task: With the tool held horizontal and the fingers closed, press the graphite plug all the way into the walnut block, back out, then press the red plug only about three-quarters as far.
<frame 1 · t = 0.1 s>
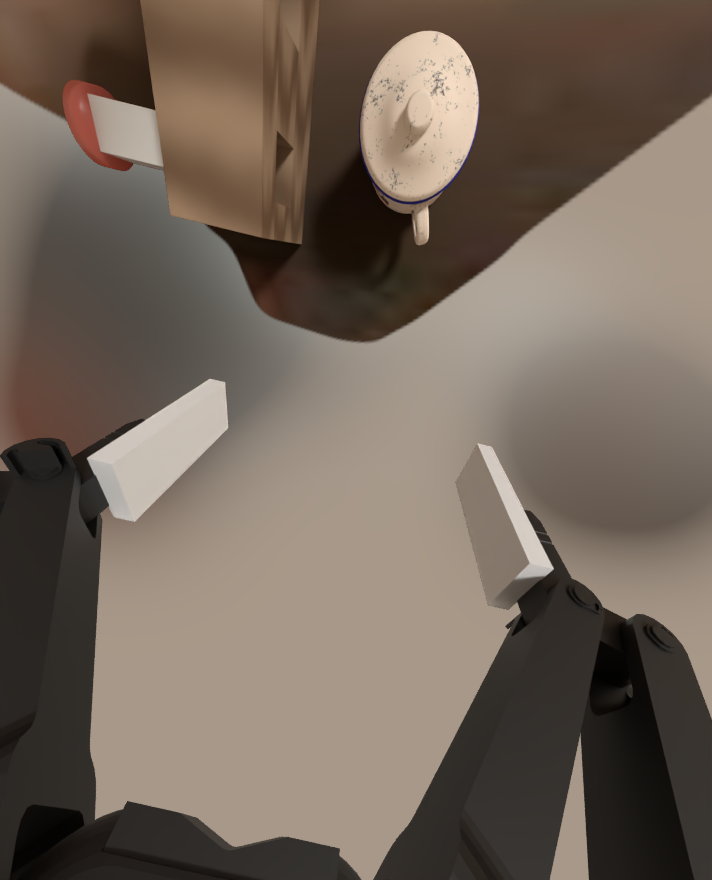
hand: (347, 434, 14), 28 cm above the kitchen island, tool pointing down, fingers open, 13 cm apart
walnut plug block: (272, 116, 28), on the kitchen island
red plug: (162, 144, 25), point 7 cm above the kitchen island, slide at 0.0 cm
teacup with lid: (413, 179, 29), on the kitchen island
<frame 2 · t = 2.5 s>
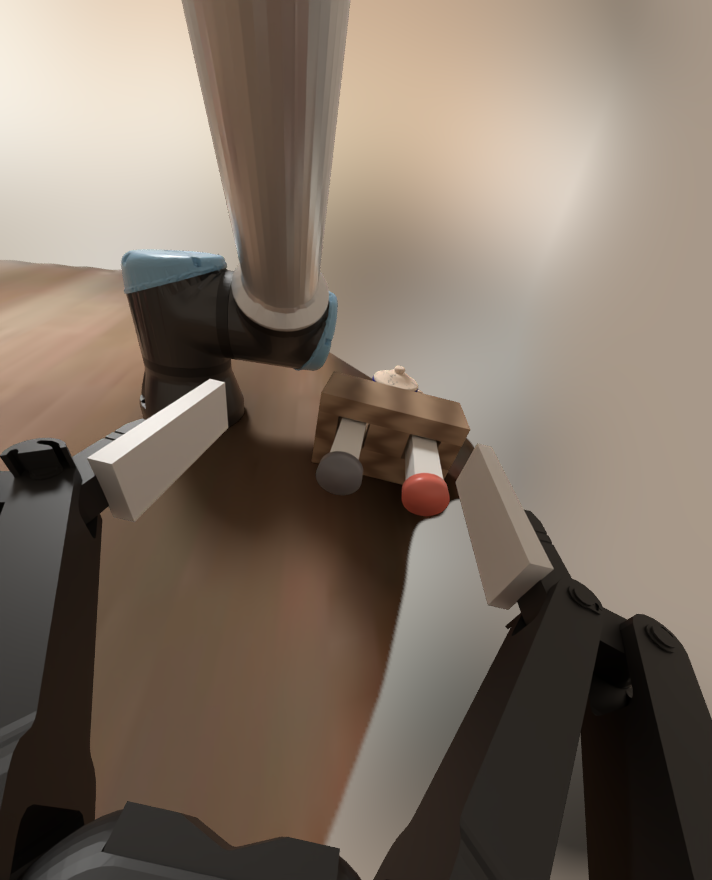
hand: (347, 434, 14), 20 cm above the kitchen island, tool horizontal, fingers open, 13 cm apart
walnut plug block: (375, 461, 46), on the kitchen island
red plug: (421, 464, 36), point 7 cm above the kitchen island, slide at 0.0 cm
graphite plug: (347, 446, 36), point 7 cm above the kitchen island, slide at 0.0 cm
teacup with lid: (390, 420, 59), on the kitchen island
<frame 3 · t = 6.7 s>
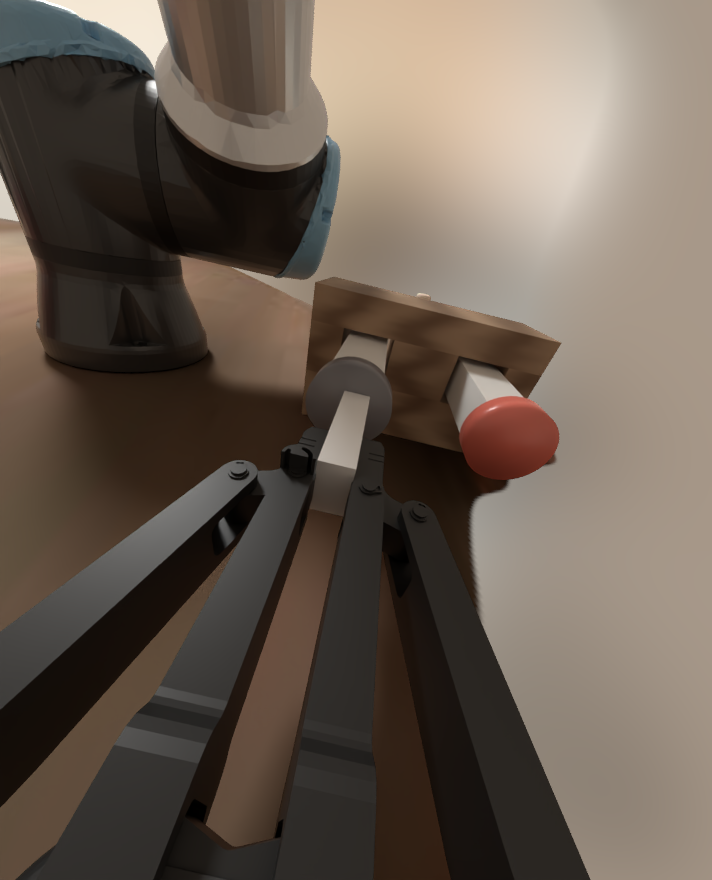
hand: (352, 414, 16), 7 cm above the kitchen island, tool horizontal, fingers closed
walnut plug block: (396, 418, 32), on the kitchen island
red plug: (482, 401, 22), point 7 cm above the kitchen island, slide at 0.0 cm
graphite plug: (359, 372, 22), point 7 cm above the kitchen island, slide at 0.0 cm, touching gripper
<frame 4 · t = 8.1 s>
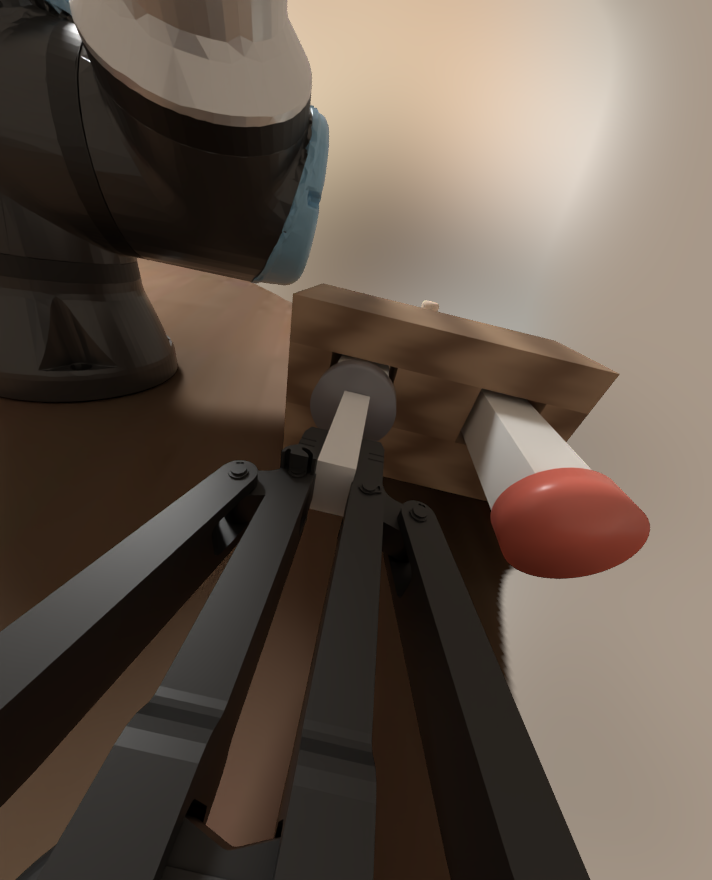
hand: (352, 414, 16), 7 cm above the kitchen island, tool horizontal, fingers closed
walnut plug block: (398, 452, 26), on the kitchen island
red plug: (514, 452, 16), point 7 cm above the kitchen island, slide at 0.0 cm
graphite plug: (362, 374, 22), point 7 cm above the kitchen island, slide at 6.6 cm, touching gripper
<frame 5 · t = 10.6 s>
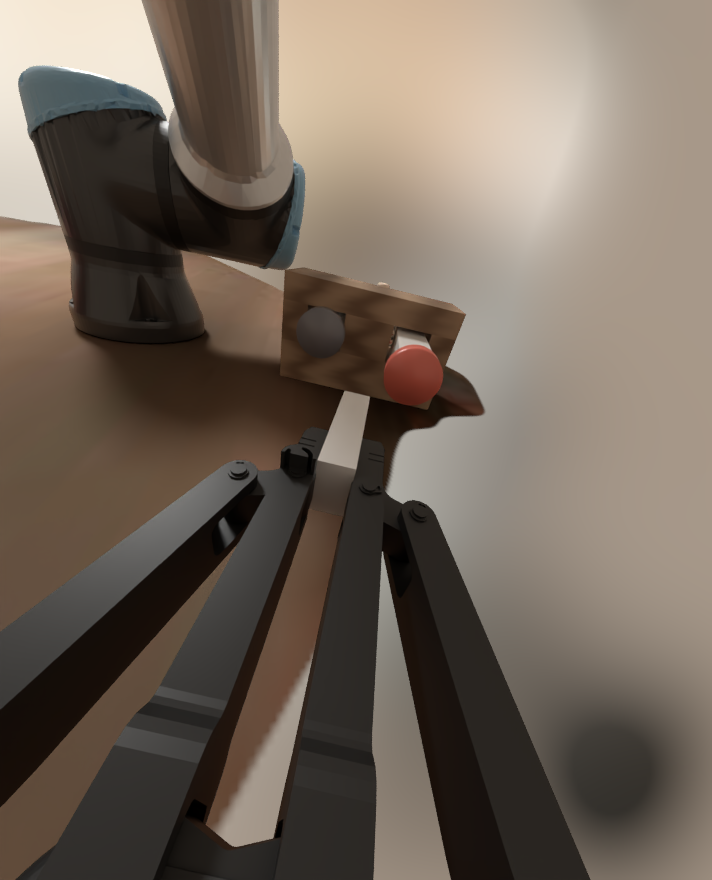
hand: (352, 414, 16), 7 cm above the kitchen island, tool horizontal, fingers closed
walnut plug block: (357, 381, 40), on the kitchen island
red plug: (408, 357, 30), point 7 cm above the kitchen island, slide at 0.0 cm
graphite plug: (330, 323, 35), point 7 cm above the kitchen island, slide at 6.9 cm
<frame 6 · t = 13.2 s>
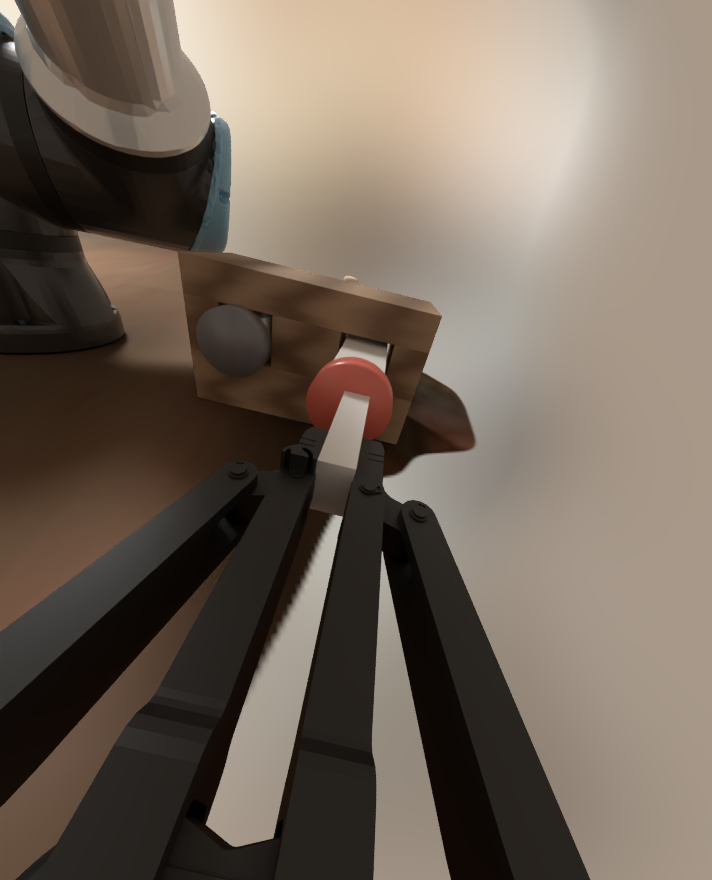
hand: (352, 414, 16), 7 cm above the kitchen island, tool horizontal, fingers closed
walnut plug block: (308, 403, 30), on the kitchen island
red plug: (359, 372, 22), point 7 cm above the kitchen island, slide at 1.5 cm, touching gripper
graphite plug: (263, 327, 26), point 7 cm above the kitchen island, slide at 6.9 cm
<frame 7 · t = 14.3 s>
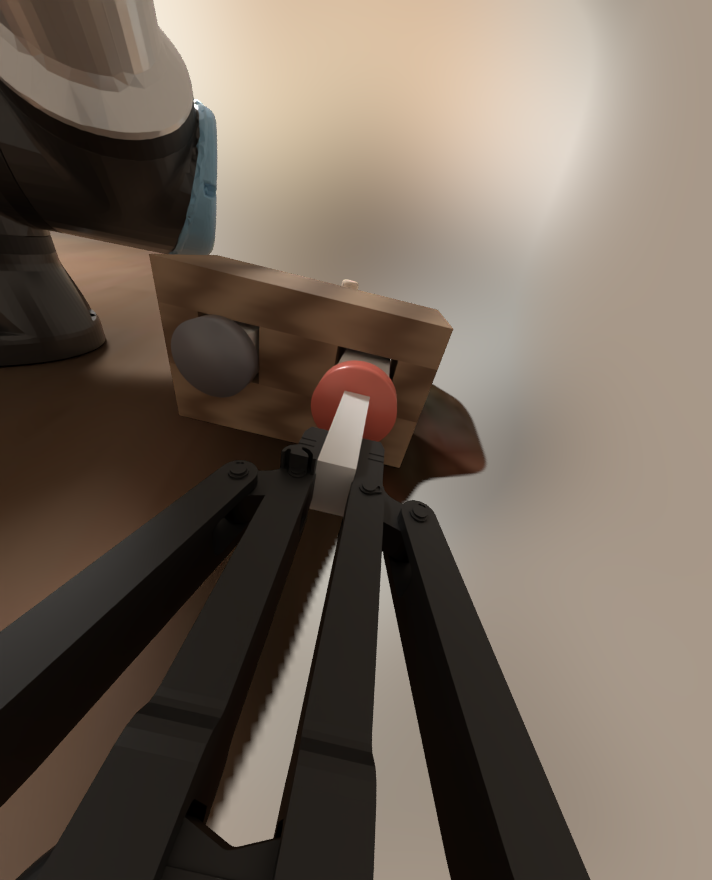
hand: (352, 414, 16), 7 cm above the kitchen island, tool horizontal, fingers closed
walnut plug block: (302, 419, 28), on the kitchen island
red plug: (363, 374, 22), point 7 cm above the kitchen island, slide at 4.8 cm, touching gripper
graphite plug: (251, 338, 23), point 7 cm above the kitchen island, slide at 6.9 cm
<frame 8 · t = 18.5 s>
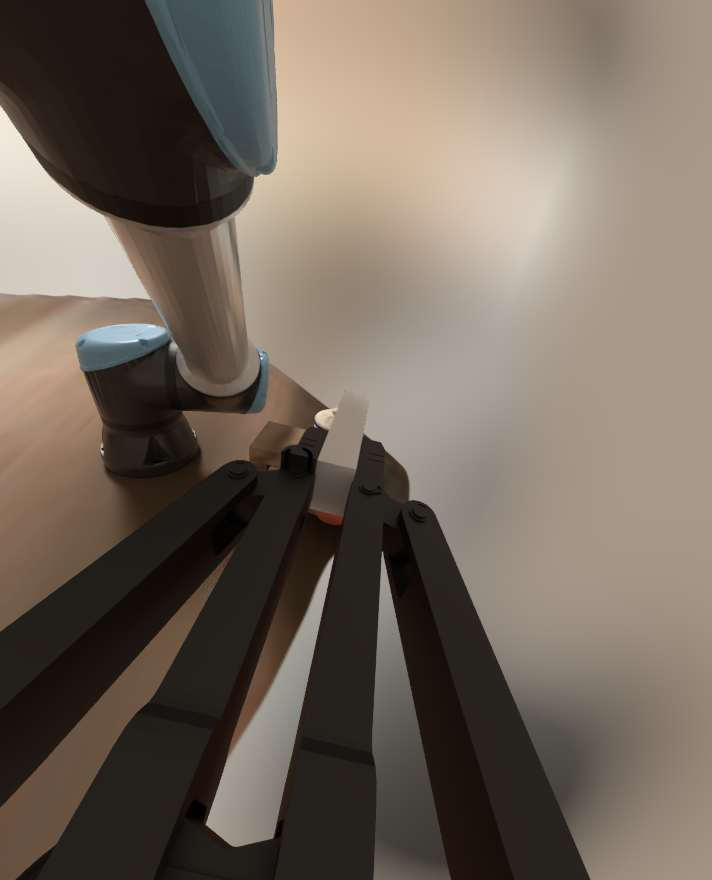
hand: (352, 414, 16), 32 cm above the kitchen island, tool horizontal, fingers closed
walnut plug block: (310, 496, 53), on the kitchen island
red plug: (339, 485, 47), point 7 cm above the kitchen island, slide at 4.8 cm
graphite plug: (286, 463, 48), point 7 cm above the kitchen island, slide at 6.9 cm
teacup with lid: (335, 452, 66), on the kitchen island
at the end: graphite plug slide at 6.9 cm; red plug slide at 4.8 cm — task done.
